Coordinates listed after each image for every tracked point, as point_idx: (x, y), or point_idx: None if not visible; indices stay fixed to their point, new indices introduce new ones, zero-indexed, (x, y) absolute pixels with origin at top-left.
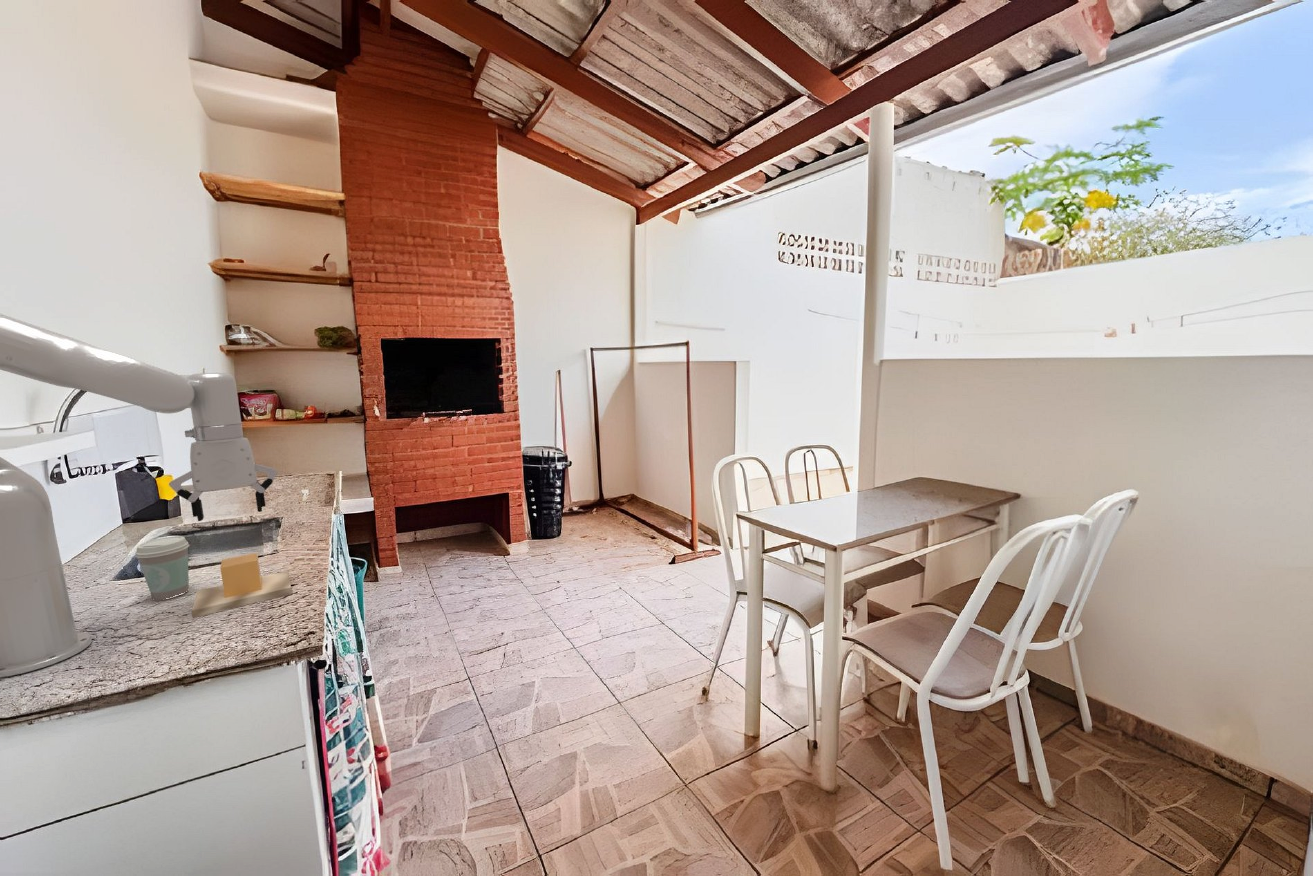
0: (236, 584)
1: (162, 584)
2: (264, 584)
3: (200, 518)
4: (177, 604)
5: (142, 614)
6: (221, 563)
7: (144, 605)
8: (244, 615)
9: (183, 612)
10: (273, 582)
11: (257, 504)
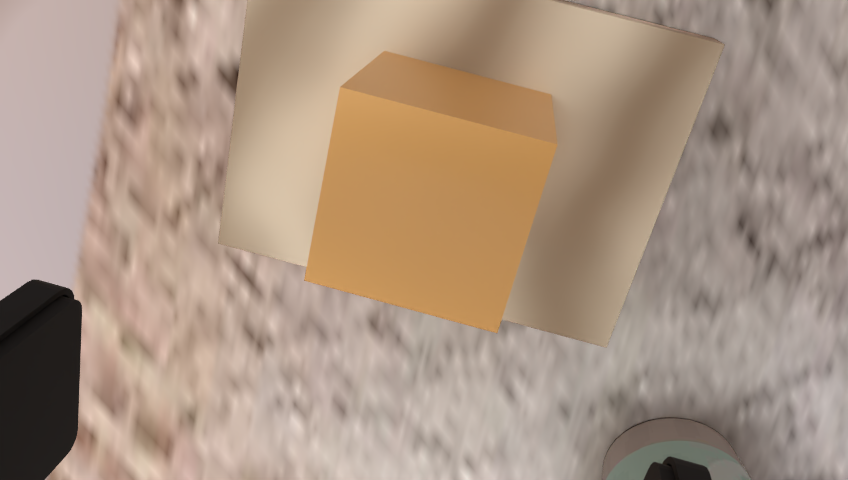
0: (488, 93)
1: (730, 475)
2: None
3: (681, 473)
4: (693, 319)
5: (832, 325)
6: (523, 247)
7: (783, 436)
8: None
9: (713, 176)
10: (312, 116)
11: (5, 342)
